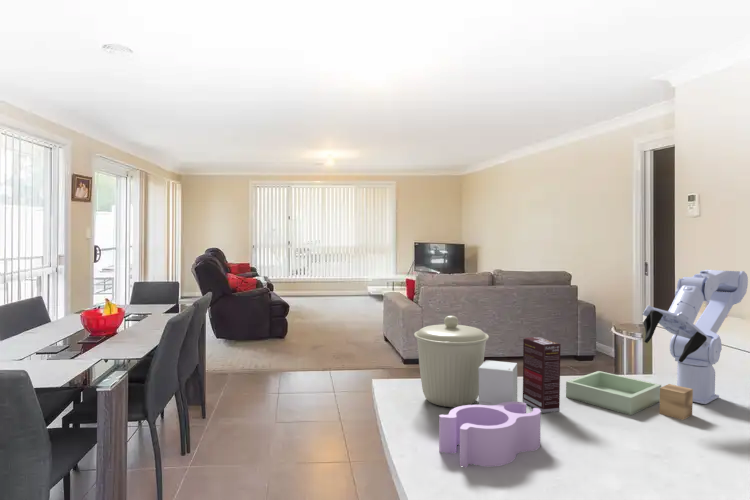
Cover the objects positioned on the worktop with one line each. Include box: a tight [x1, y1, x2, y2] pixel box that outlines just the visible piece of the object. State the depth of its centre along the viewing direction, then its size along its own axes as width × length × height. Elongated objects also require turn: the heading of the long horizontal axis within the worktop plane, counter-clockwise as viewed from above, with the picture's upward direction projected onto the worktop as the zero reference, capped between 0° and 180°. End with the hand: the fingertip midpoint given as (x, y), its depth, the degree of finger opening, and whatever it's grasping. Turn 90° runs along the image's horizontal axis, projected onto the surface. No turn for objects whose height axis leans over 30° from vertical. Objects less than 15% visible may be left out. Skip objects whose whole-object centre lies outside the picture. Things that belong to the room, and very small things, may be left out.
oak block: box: [659, 383, 693, 421], centre depth 115 cm, size 5×5×6 cm
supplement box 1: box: [478, 359, 518, 405], centre depth 110 cm, size 7×7×13 cm
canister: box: [413, 315, 490, 408], centre depth 123 cm, size 18×18×21 cm
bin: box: [565, 370, 662, 416], centre depth 125 cm, size 16×16×4 cm
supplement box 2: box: [522, 336, 561, 414], centre depth 120 cm, size 9×5×16 cm, turn 17°
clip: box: [438, 401, 542, 468], centre depth 96 cm, size 20×12×7 cm, turn 117°
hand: (664, 349), depth 113 cm, fingers open, 7 cm apart
